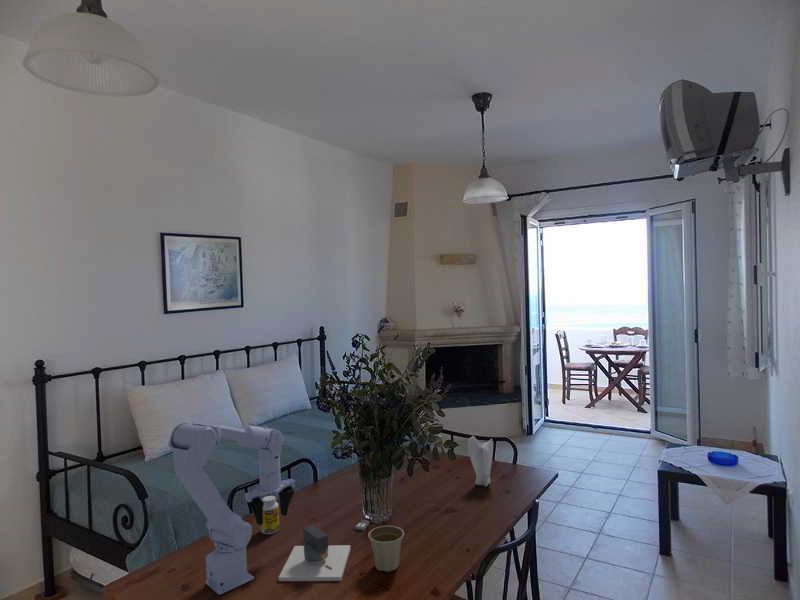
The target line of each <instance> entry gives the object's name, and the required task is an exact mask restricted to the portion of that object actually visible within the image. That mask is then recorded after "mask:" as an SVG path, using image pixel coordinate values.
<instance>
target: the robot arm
mask: <svg viewBox="0 0 800 600" xmlns="http://www.w3.org/2000/svg"><path fill="white" fill-rule="evenodd" d="M221 440H225V441H236V442H237V444H238V445H239V446H240V447H244V448H252V449H258V471H259V473H258V474H259V487H256V488H254V489H252V490H250V491H248V492H246V493H244V498H245V501H246V502H247V503H248V504H249V506H250V508H251V510H252V512H253V514H254V518H255V522H256V524H257V525H258V526H261V525H263V505H264V502H262V499H261V498H262V497H263V498H264V497H266V496H270V495H272V494H278V497H279V506H280V508H279V512H280V514H281V515H282V516H284V517H286V516H287V515H288V511H289V506H290V503H291V500H292V498H293V496H294V493H295V490H294V489H293V488H294V487H296V484H295V483H296V480H295V479H293V478H289V479H285V480H281V479H282V476H281V475H282V473H281V454H282V446H283V444H284V441H285V437H284V435H283V433H282V432H281V431H280V430H279V429H277V428H271V427H268V426H267V425H261V426H258V425H256V423H255V422H254V423H253V422H247V424H242V425H241V426H240V427H239V428H238V427H233V426H228V425H222V424H216V423H210V422H209V423H208V422H192V423H191V424H190V423H188V422H180V423H179V424H177V425H176V426H175V427H174V428H173V429H172V431H171V434H170V437H169V440H168V444H167V446H168V448H169V449H170V450H171V452H172V459H173V465H174V473H175V476H176V478H178V480H179V481H180V483H181V484H182V485H183V487H184V488H185V490H186V491H187V493H188V494H189V495H190V497H191V498H192V500H193V501H194V502H195V504H196V505H197V507H199V510H200V511H201V512H202V513H203V515H204V516H205V518H206V519H207V521H206V524H205V526H206V528H207V530H208V536H209V539H210V540H211V541H212V542H214V547H215V549H214V550H213V551H211V552H210V553H208V554H206V557H205V572H206V581H205V585H207V586H208V587H209V588H210V589H212V590H213V591H214V592H215V593H216V594H217V595H222V594H226V593H227V592H229V591H231V590H234V589H236V588H239V587H240V586H242V585H245V584H246V583H248V582H250V581H253V580H254V579H255V576H253V575H252V574H251V573H249V572H248V565H247V563H248V561H247V546H248V544H249V542H250V540H251V538H252V534H253V528H252V525H251V524H250V523H249V522H247V521H244V520H243V518H242V517H241V516H240V515H238V514H236V513H235V512H233V511H232V510H231V509H230V508H229V506H228V504H227V503H226V501H225V500H224V498H223V497H222V495H221V493H219V491H218V490H217V488H216V486H215V485H214V484H213V482H212V480H211V479H210V477H209V475H207V473H206V472H205V470H204V468H203V467H205V466H206V463H207V462H208V460H209V458H210V456H211V454H212V452H213V450H214V448H215V446H216V445H219V444H220V441H221Z"/></svg>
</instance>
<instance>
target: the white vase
mask: <svg viewBox="0 0 800 600" xmlns="http://www.w3.org/2000/svg"><path fill="white" fill-rule="evenodd" d="M467 443H468V445H467V449H468V455H469V457H470V461H471V464H472V467H473V469H474V472H475V476H476V479H475V481H474V484H475V485H476V484H477V485H476V486H479V485H481V486H480V487H488V486H489V485H490V484H491V477H490V476H491V470H492V464H493V463H492V461H493V456H494V455H493V454H494V443H493V438H490V440H488V441H487V442H483V443H481V442H480V441H478V439H477V438H476V437H475V436H474V435H471V437H469V438H468V439H467ZM482 482H483V483H482ZM489 483H490V484H489ZM488 484H489V485H488ZM482 485H484V486H482Z"/></svg>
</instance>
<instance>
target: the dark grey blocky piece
mask: <svg viewBox="0 0 800 600" xmlns="http://www.w3.org/2000/svg"><path fill="white" fill-rule="evenodd" d="M302 530H303V542H304V544H303V546H304V559H305V560H306V561H309V562H318V561H322V560H324V559H326V558H327V557H328V546H329V535H328V534H327V533H326V532H324V531H323V530H321V529H320V528H318V527H317V526H315V525H314V524H312V525H308V526H306V527H303V529H302Z"/></svg>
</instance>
